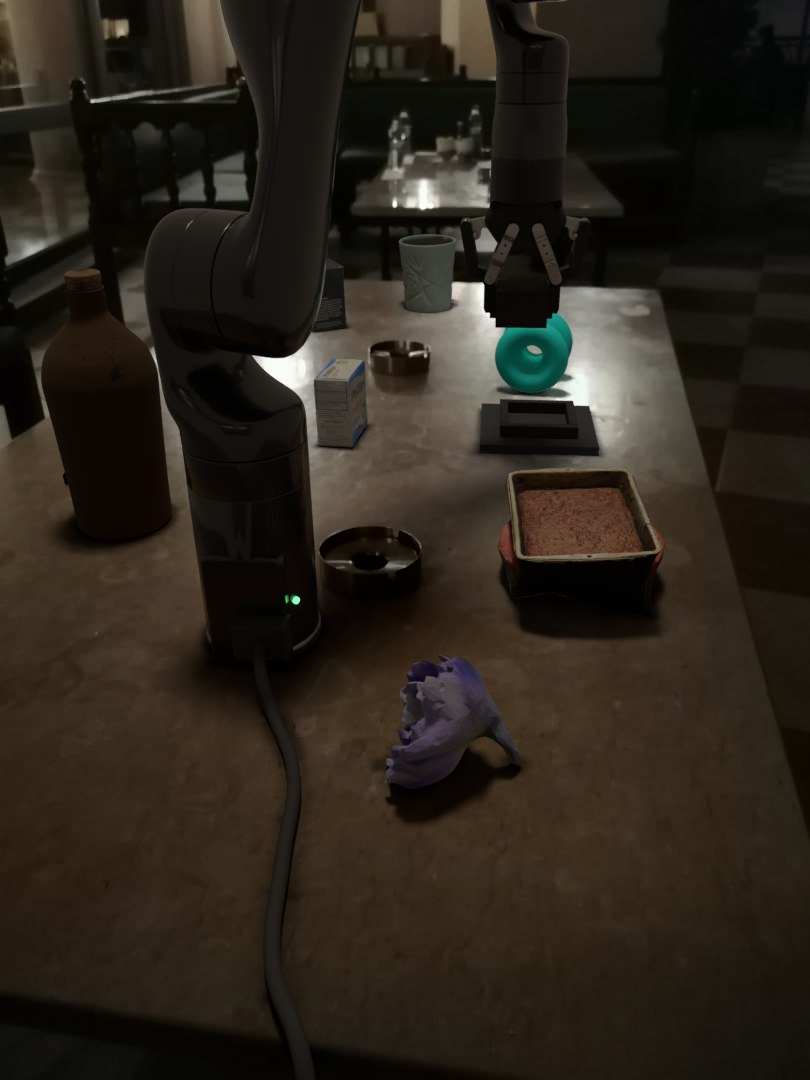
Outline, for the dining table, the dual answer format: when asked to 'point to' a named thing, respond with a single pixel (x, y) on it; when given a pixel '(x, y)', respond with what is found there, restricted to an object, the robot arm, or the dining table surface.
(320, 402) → the medicine box
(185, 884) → the dining table surface
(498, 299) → the black square block
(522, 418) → the socket pad
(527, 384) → the donuts
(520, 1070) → the dining table surface
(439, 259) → the grey green cup
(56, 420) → the olive oil
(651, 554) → the baking dish
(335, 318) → the small box
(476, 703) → the flower
